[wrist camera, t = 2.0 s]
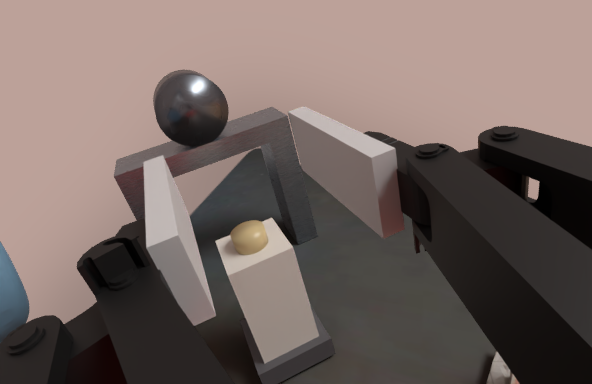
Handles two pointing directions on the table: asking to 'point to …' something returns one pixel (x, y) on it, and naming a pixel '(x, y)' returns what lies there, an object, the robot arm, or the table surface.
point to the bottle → (273, 301)
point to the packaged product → (500, 372)
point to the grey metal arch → (218, 146)
